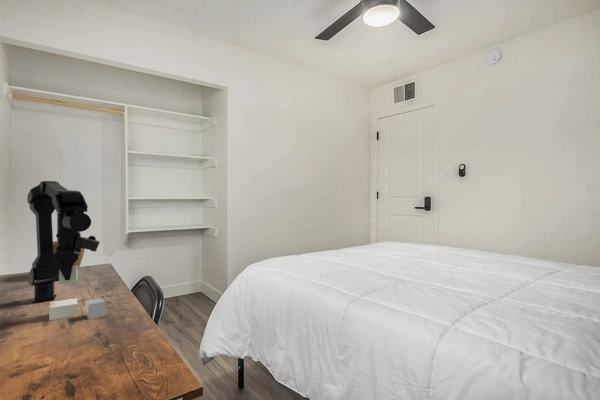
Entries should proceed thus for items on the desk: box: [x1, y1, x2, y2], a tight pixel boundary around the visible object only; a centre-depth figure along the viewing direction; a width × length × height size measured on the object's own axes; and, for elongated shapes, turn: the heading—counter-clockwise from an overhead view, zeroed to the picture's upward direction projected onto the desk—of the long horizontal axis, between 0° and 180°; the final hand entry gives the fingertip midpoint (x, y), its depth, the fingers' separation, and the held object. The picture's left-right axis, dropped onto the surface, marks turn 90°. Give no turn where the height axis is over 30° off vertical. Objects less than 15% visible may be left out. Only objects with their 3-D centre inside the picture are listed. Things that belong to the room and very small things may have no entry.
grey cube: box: [84, 297, 106, 320], centre depth 102 cm, size 4×4×4 cm
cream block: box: [48, 297, 78, 321], centre depth 102 cm, size 7×7×4 cm
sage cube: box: [58, 266, 79, 285], centre depth 103 cm, size 4×4×4 cm
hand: (68, 278), depth 103 cm, fingers closed on sage cube, 4 cm apart
